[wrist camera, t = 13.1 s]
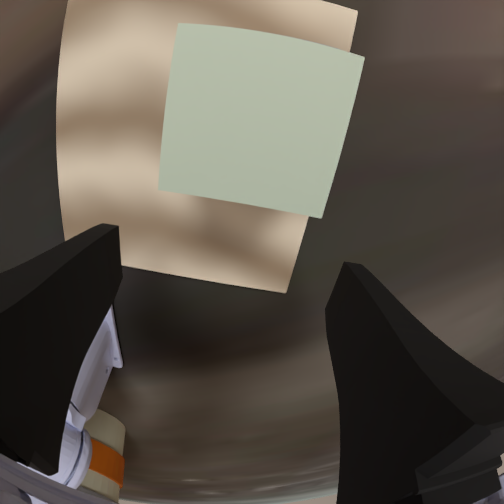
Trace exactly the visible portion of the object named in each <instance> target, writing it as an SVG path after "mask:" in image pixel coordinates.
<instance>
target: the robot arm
mask: <svg viewBox="0 0 504 504" xmlns="http://www.w3.org/2000/svg"><path fill="white" fill-rule="evenodd" d="M122 278H123V276H122V265H121V251H120V236H119V226H118V225H112V224H106V223H101V224H99V225H96V226H94V227H92V228H90V229H88V230H86V231H84V232H82V233H80V234H78V235H76V236H74V237H72V238H70V239H69V240H67V241H65V242H63V243H61V244H59V245H58V246H56V247H54V248H52V249H50V250H48V251H46V252H44V253H42V254H40V255H38V256H37V257H35V258H33V259H31V260H29V261H27V262H25V263H23V264H21V265H19V266H16V267H14V268H12V269H10V270H7V271H5V272H3V273H0V504H117V503H114V502H111V501H107V500H104V499H101V498H98V497H95V496H92V495H89V494H87V493H84V492H81V491H79V490H76V489H77V488H78V487H79V486H80V484H81V483H82V481H83V480H84V478H85V476H86V474H87V471H88V468H89V465H90V462H91V457H92V443H91V439H90V435H89V432H88V431H87V430H86V429H84V428H83V427H84V424H85V422H87V421H88V420H89V419H90V418H91V417H92V416H93V415H94V414H95V412H96V410H97V407H98V404H99V402H100V399H101V396H102V394H103V391H104V388H105V386H106V383H107V380H108V378H109V375H110V373H111V370H112V367H117V368H122V366H123V361H122V356H121V351H120V346H119V341H118V336H117V330H116V325H115V319H114V313H113V306H112V303H113V301H114V299H115V296H116V294H117V291H118V288H119V286H120V283H121V280H122ZM325 316H326V332H327V340H328V345H329V350H330V355H331V360H332V366H333V371H334V376H335V381H336V387H337V392H338V400H339V412H340V470H339V484H338V494H337V502H336V504H504V473H503V474H501V475H499V476H498V473H497V468H499V467H500V466H502V460H501V457H500V455H501V454H503V453H504V383H502V382H501V381H499V380H497V379H495V378H494V377H492V376H490V375H489V374H487V373H485V372H484V371H482V370H481V369H479V368H478V367H476V366H474V365H473V364H472V363H470V362H469V361H467V360H466V359H465V358H463V357H462V356H460V355H459V354H457V353H456V352H455V351H454V350H452V349H451V348H450V347H448V346H447V345H446V344H445V343H444V342H442V341H441V340H440V339H439V338H438V337H436V336H435V335H434V334H433V333H432V332H430V331H429V330H428V329H427V328H426V327H425V326H424V325H423V324H422V323H421V322H420V321H419V320H418V319H416V318H415V317H414V316H413V315H412V314H411V313H410V312H409V311H408V310H407V309H406V308H405V307H404V306H403V305H402V304H401V303H400V302H399V301H398V300H397V299H396V298H395V297H394V296H393V295H392V294H391V293H390V292H389V290H388V289H387V288H386V287H385V286H384V285H383V284H382V283H381V282H380V281H379V280H378V279H377V278H376V277H375V276H374V275H373V274H372V273H371V272H370V271H369V270H367V269H366V268H365V267H364V266H363V265H361V264H356V263H350V262H344V263H343V266H342V268H341V271H340V273H339V276H338V279H337V281H336V284H335V286H334V289H333V291H332V294H331V296H330V299H329V301H328V303H327V306H326V308H325Z"/></svg>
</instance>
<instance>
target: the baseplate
mask: <svg viewBox="0 0 504 504" xmlns="http://www.w3.org/2000/svg"><path fill="white" fill-rule="evenodd" d="M357 14H358V11H356V10H353V9H349V8H346V7H343V6H339V5H336V4H332V3H329V2H325V1H321V0H68V5H67V10H66V15H65V21H64V28H63V35H62V42H61V50H60V60H59V71H58V85H57V109H56V143H57V168H58V182H59V194H60V204H61V213H62V221H63V229H64V236H65V241H67V240H69V239H70V238H72V237H74V236H76V235H78V234H80V233H82V232H84V231H86V230H88V229H90V228H92V227H94V226H96V225H99V224H101V223H106V224H112V225H118V226H119V236H120V251H121V265H124V266H129V267H134V268H139V269H145V270H150V271H156V272H161V273H166V274H172V275H178V276H183V277H189V278H195V279H201V280H207V281H212V282H218V283H225V284H231V285H237V286H243V287H249V288H256V289H262V290H269V291H275V292H282V293H286V291H287V288H288V285H289V281H290V278H291V275H292V271H293V268H294V265H295V261H296V258H297V255H298V251H299V248H300V244H301V241H302V238H303V234H304V231H305V227H306V224H307V220H308V217H309V216H306V215H301V214H296V213H291V212H286V211H280V210H275V209H270V208H264V207H259V206H253V205H247V204H242V203H236V202H230V201H224V200H218V199H212V198H206V197H200V196H194V195H187V194H181V193H174V192H167V191H161V190H158V182H159V167H160V154H161V143H162V132H163V122H164V113H165V105H166V97H167V89H168V82H169V75H170V68H171V61H172V55H173V49H174V43H175V37H176V32H177V27H178V23H189V24H204V25H215V26H225V27H234V28H241V29H248V30H255V31H261V32H267V33H272V34H278V35H283V36H288V37H293V38H297V39H301V40H306V41H310V42H314V43H318V44H322V45H326V46H329V47H333V48H336V49H340V50H343V51H347V52H350V48H351V43H352V38H353V34H354V29H355V24H356V19H357Z"/></svg>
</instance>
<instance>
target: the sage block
mask: <svg viewBox="0 0 504 504" xmlns="http://www.w3.org/2000/svg"><path fill="white" fill-rule="evenodd" d="M364 59H365V57H362V56H359V55H356V54H353V53H350V52H347V51H343V50H340V49H336V48H333V47H329V46H326V45H322V44H318V43H314V42H310V41H306V40H301V39H297V38H293V37H288V36H283V35H278V34H272V33H267V32H261V31H255V30H248V29H241V28H234V27H225V26H215V25H204V24H189V23H178V27H177V32H176V37H175V43H174V49H173V55H172V61H171V68H170V75H169V82H168V89H167V97H166V105H165V113H164V122H163V132H162V143H161V154H160V167H159V182H158V190H161V191H167V192H174V193H181V194H187V195H194V196H200V197H206V198H212V199H218V200H224V201H230V202H236V203H242V204H247V205H253V206H259V207H264V208H270V209H275V210H280V211H286V212H291V213H296V214H301V215H306V216H311V217H316V218H322V215H323V212H324V208H325V205H326V202H327V198H328V195H329V192H330V188H331V185H332V182H333V178H334V175H335V171H336V168H337V164H338V161H339V157H340V153H341V150H342V146H343V143H344V139H345V135H346V131H347V128H348V124H349V120H350V116H351V112H352V108H353V105H354V101H355V97H356V93H357V88H358V84H359V80H360V76H361V72H362V67H363V63H364Z"/></svg>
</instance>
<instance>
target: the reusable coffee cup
mask: <svg viewBox="0 0 504 504" xmlns="http://www.w3.org/2000/svg"><path fill="white" fill-rule="evenodd" d="M83 428H84V429H86V430H87V431H88V432H89V435H90V439H91V443H92V457H91V462H90V465H89V468H88V471H87V474H86V476H85V478H84V480H83V481H82V483H81V484H80V486H79V487H78V488H77V489H76V490H79V491H81V492H84V493H87V494H89V495H92V496H95V497H98V498H101V499H104V500H107V501H111V502H114V503H117V504H119V503H118V500H119V488H122V486H123V474H124V464H125V459H124V458H123V457H122V456H123V447H124V439H125V431H126V428H125V426H124V425H123V424H122V423H121V422H120V421H119V420H118V419H116V418H115V417H113V416H112V415H110V414H108V413H106V412H104V411H102V410H100V409H97V410H96V412H95V414H94V415H93V416H92V417H91V418H90V419H89V420H88V421H87V422H85V424H84V427H83Z"/></svg>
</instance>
